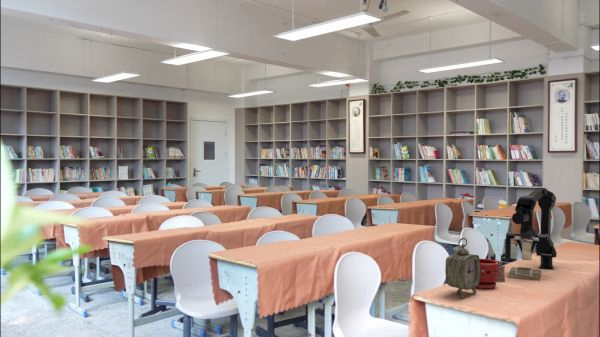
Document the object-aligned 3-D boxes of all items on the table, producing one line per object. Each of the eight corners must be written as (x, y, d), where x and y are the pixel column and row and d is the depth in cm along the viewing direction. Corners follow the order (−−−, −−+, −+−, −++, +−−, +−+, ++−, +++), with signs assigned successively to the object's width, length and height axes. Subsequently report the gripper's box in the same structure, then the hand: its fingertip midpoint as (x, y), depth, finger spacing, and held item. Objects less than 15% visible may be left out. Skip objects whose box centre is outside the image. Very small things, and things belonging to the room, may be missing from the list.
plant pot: (499, 291, 218) (499, 264, 217) (468, 288, 222) (468, 262, 222) (498, 283, 230) (498, 258, 230) (468, 281, 234) (468, 256, 234)
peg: (522, 258, 245) (522, 240, 245) (531, 259, 243) (531, 241, 243) (522, 259, 242) (522, 241, 242) (531, 260, 240) (530, 242, 240)
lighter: (503, 280, 236) (503, 259, 236) (506, 282, 232) (505, 261, 232) (486, 280, 237) (486, 259, 236) (488, 281, 233) (488, 261, 233)
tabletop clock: (463, 300, 205) (462, 241, 204) (444, 295, 212) (443, 238, 211) (480, 293, 215) (480, 237, 214) (461, 289, 221) (461, 234, 221)
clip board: (511, 269, 258) (511, 262, 258) (541, 271, 251) (541, 264, 251) (507, 277, 240) (507, 270, 240) (538, 280, 234) (538, 273, 233)
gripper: (504, 223, 240) (504, 254, 240) (547, 225, 231) (547, 258, 231) (507, 220, 250) (507, 250, 250) (547, 222, 241) (548, 253, 241)
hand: (526, 253), depth 243 cm, fingers closed on peg, 4 cm apart
